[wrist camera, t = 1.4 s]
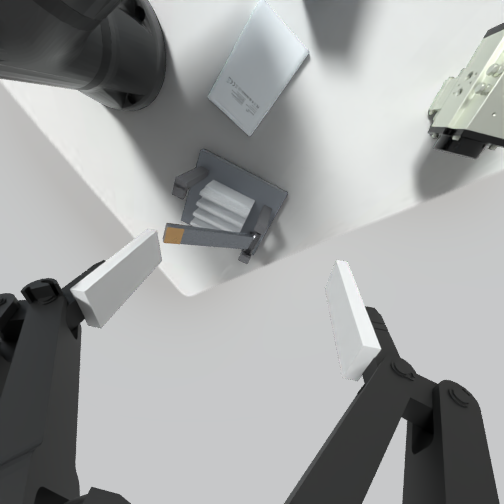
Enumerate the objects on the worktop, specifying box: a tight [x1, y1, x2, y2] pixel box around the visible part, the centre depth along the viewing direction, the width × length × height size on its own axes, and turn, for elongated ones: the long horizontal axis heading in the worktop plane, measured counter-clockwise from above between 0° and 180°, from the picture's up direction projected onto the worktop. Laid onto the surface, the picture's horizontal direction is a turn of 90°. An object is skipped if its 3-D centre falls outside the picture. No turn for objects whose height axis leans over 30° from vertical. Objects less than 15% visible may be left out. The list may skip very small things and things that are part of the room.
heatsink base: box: [172, 149, 288, 264], centre depth 36 cm, size 16×14×10 cm
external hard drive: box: [208, 0, 309, 137], centre depth 30 cm, size 2×8×12 cm
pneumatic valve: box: [428, 23, 504, 159], centre depth 23 cm, size 6×12×12 cm, turn 167°
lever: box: [163, 223, 262, 255], centre depth 30 cm, size 14×4×1 cm
